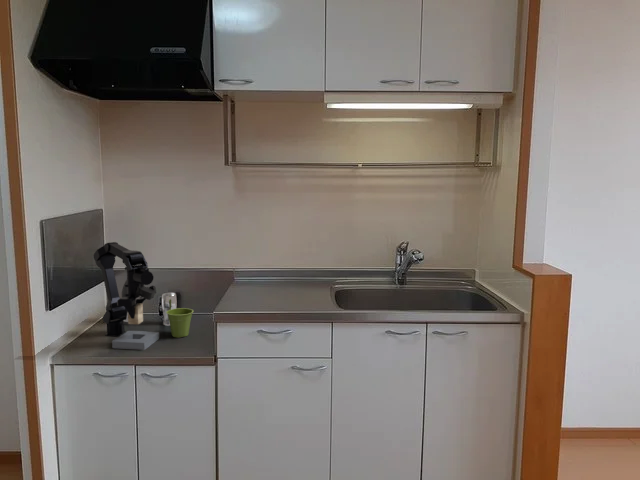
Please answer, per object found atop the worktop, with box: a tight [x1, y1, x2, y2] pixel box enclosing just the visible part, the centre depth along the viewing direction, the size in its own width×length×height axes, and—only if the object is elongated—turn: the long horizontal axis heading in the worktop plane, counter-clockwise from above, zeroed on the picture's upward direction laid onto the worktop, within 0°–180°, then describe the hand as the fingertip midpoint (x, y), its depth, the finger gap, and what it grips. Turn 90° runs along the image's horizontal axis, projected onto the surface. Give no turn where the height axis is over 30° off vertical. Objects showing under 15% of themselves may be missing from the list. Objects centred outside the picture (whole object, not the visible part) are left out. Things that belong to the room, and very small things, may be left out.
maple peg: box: [128, 302, 144, 325], centre depth 200 cm, size 4×4×8 cm
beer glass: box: [161, 291, 178, 327], centre depth 228 cm, size 7×7×15 cm
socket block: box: [111, 330, 160, 351], centre depth 201 cm, size 14×14×3 cm
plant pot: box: [166, 307, 194, 338], centre depth 212 cm, size 12×12×11 cm
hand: (135, 316), depth 200 cm, fingers closed on maple peg, 4 cm apart
